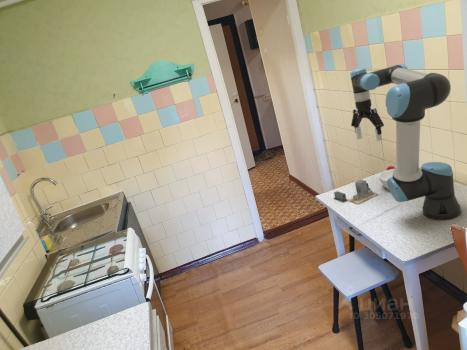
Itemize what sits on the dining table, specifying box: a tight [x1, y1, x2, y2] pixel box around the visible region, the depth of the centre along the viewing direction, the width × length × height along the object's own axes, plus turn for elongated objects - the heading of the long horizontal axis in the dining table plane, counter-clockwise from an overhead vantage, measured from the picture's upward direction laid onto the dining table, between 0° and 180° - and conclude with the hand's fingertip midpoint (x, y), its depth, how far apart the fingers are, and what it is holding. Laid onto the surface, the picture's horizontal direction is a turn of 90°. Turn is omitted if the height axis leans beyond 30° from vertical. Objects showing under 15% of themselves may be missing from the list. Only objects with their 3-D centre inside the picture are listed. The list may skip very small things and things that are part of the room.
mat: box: [347, 191, 379, 205], centre depth 200 cm, size 8×14×1 cm, turn 114°
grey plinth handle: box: [333, 182, 372, 203], centre depth 207 cm, size 8×19×4 cm, turn 114°
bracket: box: [386, 165, 396, 171], centre depth 214 cm, size 12×4×8 cm, turn 29°
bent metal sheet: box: [352, 179, 374, 201], centre depth 198 cm, size 4×10×9 cm, turn 115°
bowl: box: [378, 169, 394, 190], centre depth 200 cm, size 18×18×7 cm
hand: (369, 139), depth 196 cm, fingers open, 13 cm apart
